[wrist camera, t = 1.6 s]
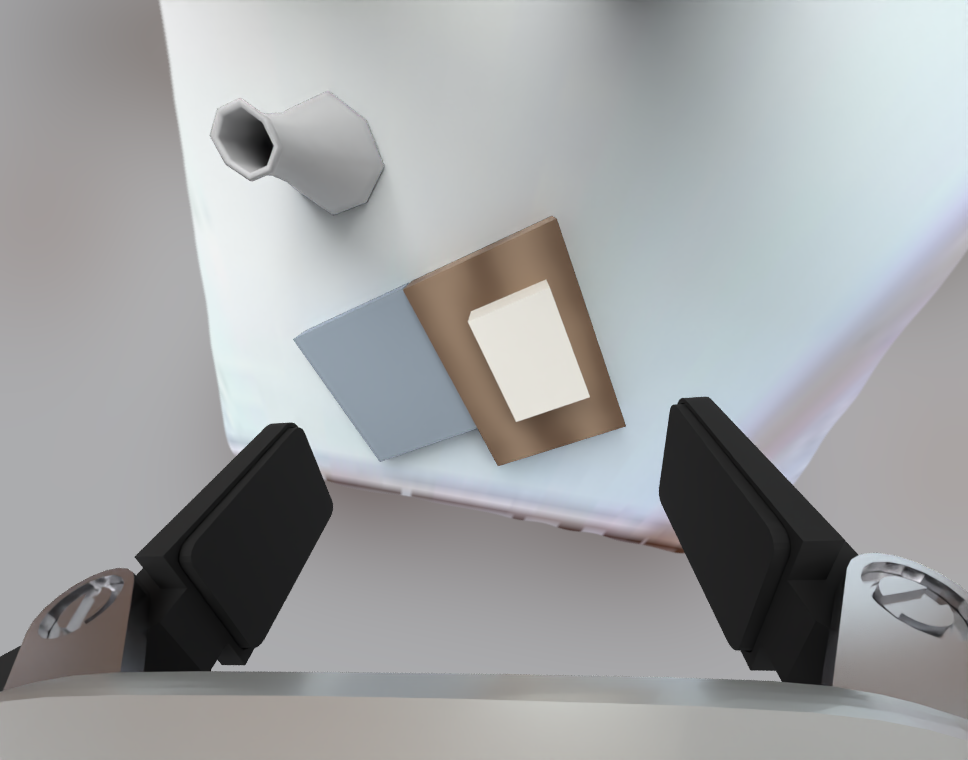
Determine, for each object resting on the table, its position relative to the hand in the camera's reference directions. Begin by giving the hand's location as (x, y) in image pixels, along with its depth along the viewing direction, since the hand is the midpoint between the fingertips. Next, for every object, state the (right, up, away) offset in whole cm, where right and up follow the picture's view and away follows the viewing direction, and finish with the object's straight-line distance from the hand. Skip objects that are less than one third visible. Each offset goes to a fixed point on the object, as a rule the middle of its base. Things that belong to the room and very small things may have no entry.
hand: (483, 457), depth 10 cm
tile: (+4, +5, +20) cm, 20 cm away
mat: (-8, +2, +25) cm, 26 cm away
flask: (-11, +18, +17) cm, 27 cm away
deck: (+3, +5, +23) cm, 24 cm away
